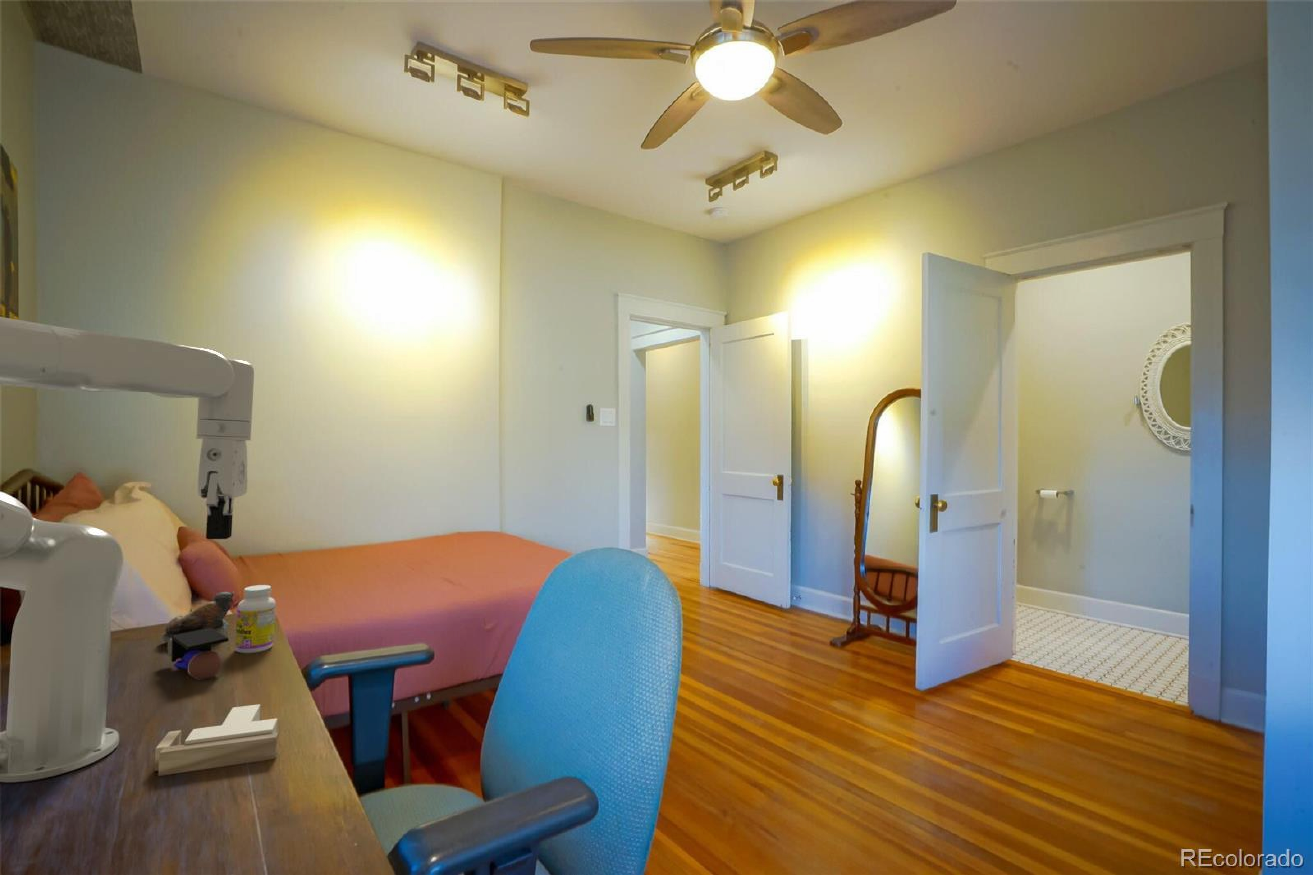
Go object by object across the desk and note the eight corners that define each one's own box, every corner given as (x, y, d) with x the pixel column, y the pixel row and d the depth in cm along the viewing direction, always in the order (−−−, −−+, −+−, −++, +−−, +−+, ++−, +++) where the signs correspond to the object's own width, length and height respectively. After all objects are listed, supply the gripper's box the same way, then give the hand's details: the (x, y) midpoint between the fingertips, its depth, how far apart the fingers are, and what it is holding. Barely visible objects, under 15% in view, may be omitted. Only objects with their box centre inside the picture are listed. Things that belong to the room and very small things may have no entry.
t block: (271, 754, 82) (272, 729, 82) (183, 767, 78) (185, 741, 78) (283, 723, 91) (284, 701, 91) (205, 734, 87) (206, 710, 87)
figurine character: (162, 673, 112) (185, 686, 103) (163, 632, 112) (186, 642, 103) (205, 664, 117) (231, 675, 108) (206, 625, 118) (232, 633, 109)
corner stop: (275, 758, 81) (276, 736, 81) (149, 777, 76) (150, 753, 76) (284, 737, 87) (285, 717, 87) (167, 753, 81) (169, 731, 82)
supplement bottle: (228, 650, 121) (231, 588, 121) (262, 641, 127) (265, 582, 127) (246, 656, 118) (249, 593, 118) (280, 647, 124) (283, 586, 124)
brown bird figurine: (157, 649, 120) (160, 600, 121) (166, 638, 127) (169, 592, 127) (229, 641, 126) (231, 595, 126) (234, 632, 132) (236, 587, 133)
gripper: (238, 431, 94) (232, 545, 94) (261, 432, 108) (255, 531, 108) (181, 429, 92) (174, 546, 91) (212, 430, 105) (206, 532, 105)
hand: (218, 538), depth 100 cm, fingers closed
